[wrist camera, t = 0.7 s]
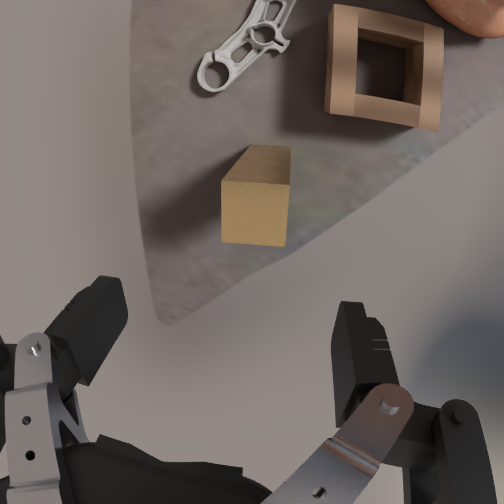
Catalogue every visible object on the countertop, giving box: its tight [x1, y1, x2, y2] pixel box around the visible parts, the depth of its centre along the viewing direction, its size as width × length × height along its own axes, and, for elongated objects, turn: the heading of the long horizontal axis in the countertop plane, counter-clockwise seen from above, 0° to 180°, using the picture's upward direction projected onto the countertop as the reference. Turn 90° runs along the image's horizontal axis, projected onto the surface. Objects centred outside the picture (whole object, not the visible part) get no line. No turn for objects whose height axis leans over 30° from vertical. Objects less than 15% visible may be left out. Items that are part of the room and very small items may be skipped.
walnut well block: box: [324, 4, 444, 132], centre depth 23 cm, size 10×10×5 cm
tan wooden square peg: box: [221, 145, 291, 247], centre depth 25 cm, size 4×4×14 cm
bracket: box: [197, 0, 297, 92], centre depth 24 cm, size 8×2×15 cm
